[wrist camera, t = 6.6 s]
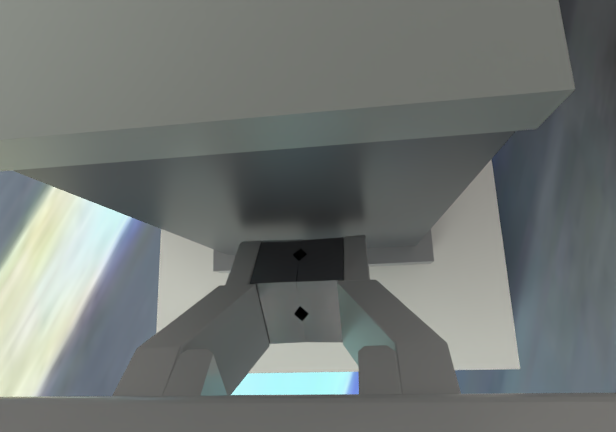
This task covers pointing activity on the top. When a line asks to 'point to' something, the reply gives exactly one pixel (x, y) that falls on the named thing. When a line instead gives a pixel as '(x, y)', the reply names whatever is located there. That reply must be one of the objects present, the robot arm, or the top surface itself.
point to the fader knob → (275, 110)
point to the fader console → (391, 290)
